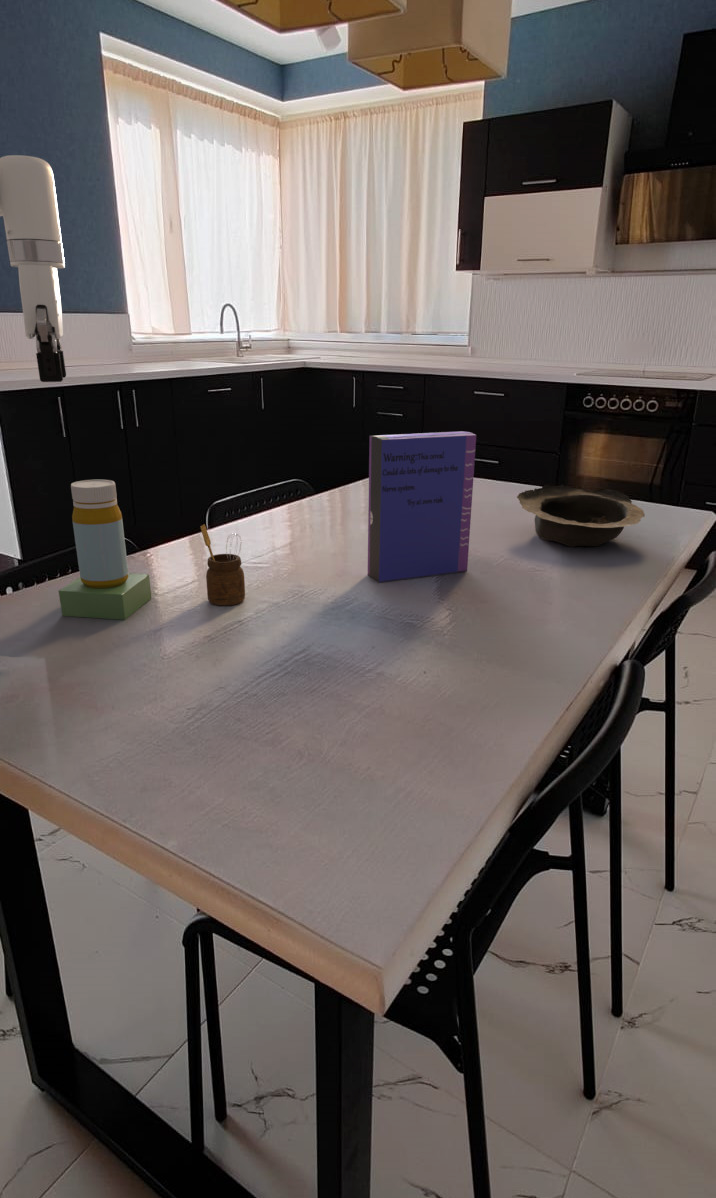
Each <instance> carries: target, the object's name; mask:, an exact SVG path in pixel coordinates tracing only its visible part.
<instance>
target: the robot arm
mask: <svg viewBox="0 0 716 1198" xmlns="http://www.w3.org/2000/svg"><path fill="white" fill-rule="evenodd" d="M55 185H56V184H55V177H54V172H53V169H52V166H51V165H50V163H48V162H47V161H46V160H44V159H43V158H40V157H36V156H32V155H31V156H30V155H23V154H22V155H21V154H19V155H18V154H10V155H9V154H8V155H4V156H1V157H0V218H1V217H2V218H3V224H4V231H5V237H6V238H5V239H6V245H7V251H8V257H9V261H10V262H9V264H10V266H11V267H12V268H18V282H19V284H18V285H19V291H20V299H21V300H20V301H21V306H22V307H21V308H22V315H23V316H22V317H23V324H24V333H25V337H26V338H27V339H29V340H33V339H35V347H36V353H35V356H36V362H37V369H38V370H37V371H38V377H39V381H40V382H42V383H61V382H63V381H64V379H65V378H66V377H67V371H66V364H65V355H64V350H62V344H61V338H62V337H64V324H63V309H62V300H61V299H62V298H61V291H60V283H59V275H58V269H59V270H60V269H65V268H66V264H65V257H64V248H63V240H62V233H61V226H60V225H61V224H60V217H59V208H58V200H57V193H56V186H55Z"/></svg>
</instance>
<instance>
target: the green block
mask: <svg viewBox="0 0 716 1198" xmlns="http://www.w3.org/2000/svg"><path fill="white" fill-rule="evenodd" d="M128 576H129V577H128V579H127V580H126V582H125V583H123V584H121V585H119V586H115V587H109V588H92V587H88V586H86V585H85V584H84V583H83V582H82V581H81V577H80V576H79V577H78V578H77V579H75V580H73V581H72V582H70V583H68V584H67V585H64V587H62V588H60V589H59V590H58V597H59V601H60V602H59V605H60V609H61V610H60V612H61V616H62V617H74V618H88V619H89V618H90V619H103V620H104V619H105V620H119V621H120V620H121V621H126V620H127V619H128V618H129V617H130V616H132V615H133V614H135V612H137V611H138V610H140V608H141V607H143V606H144V605H145V604H147V603H148V602H149V601H150V600H151V599H152V588H151V580H150V579H151V578H150V574H147V573H133V572H132V573H131V572H128Z"/></svg>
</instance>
